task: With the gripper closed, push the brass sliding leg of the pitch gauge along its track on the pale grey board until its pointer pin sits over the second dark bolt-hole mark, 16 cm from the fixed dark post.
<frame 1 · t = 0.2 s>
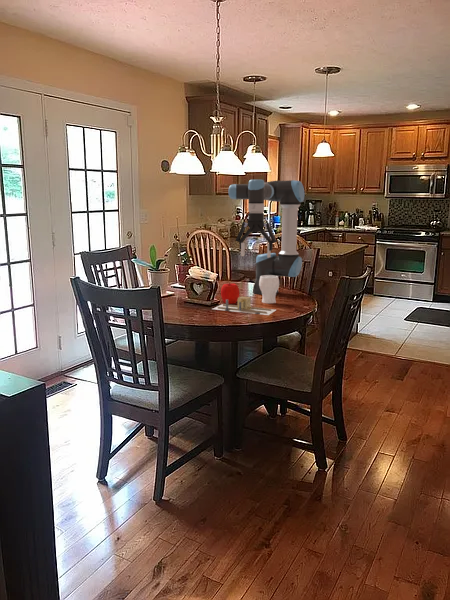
hand: (255, 256, 246), 28 cm above the table, fingers open, 13 cm apart
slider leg: (243, 304, 249), point 4 cm above the table, slide at 0.0 cm, touching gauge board
apple: (230, 305, 267), on the table
cup: (268, 304, 268), on the table
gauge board: (244, 312, 251), on the table
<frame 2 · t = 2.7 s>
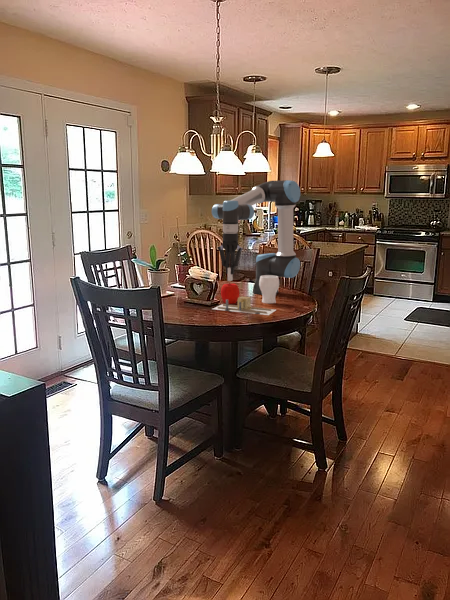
hand: (230, 280, 250), 16 cm above the table, fingers closed
nothing on the table moved.
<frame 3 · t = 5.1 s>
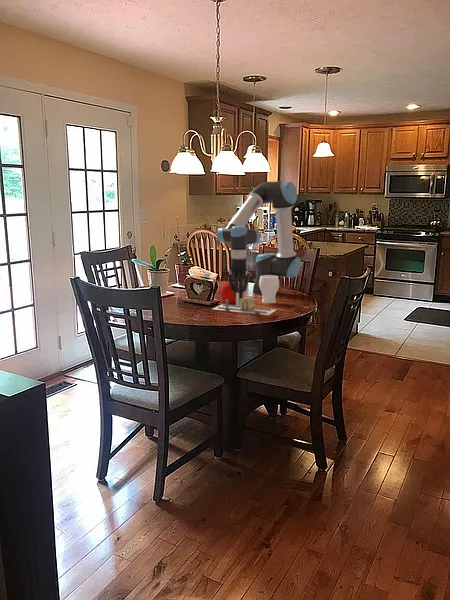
hand: (238, 305, 251), 3 cm above the table, fingers closed
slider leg: (245, 304, 248), point 4 cm above the table, slide at 1.5 cm, touching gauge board, gripper
everything else where it was.
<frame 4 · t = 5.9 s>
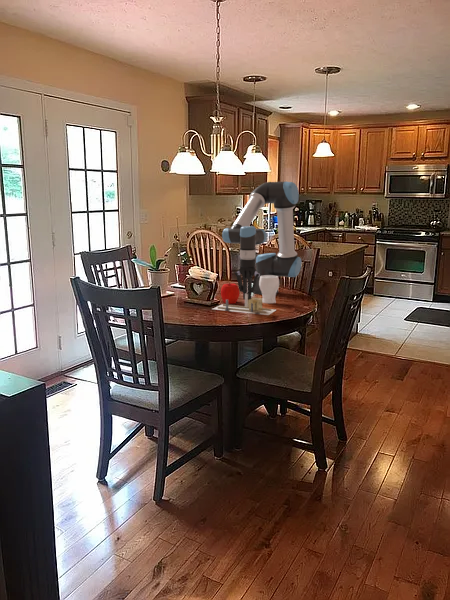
hand: (247, 305, 249), 3 cm above the table, fingers closed
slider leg: (254, 305, 246), point 4 cm above the table, slide at 6.2 cm, touching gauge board, gripper
everything else where it was.
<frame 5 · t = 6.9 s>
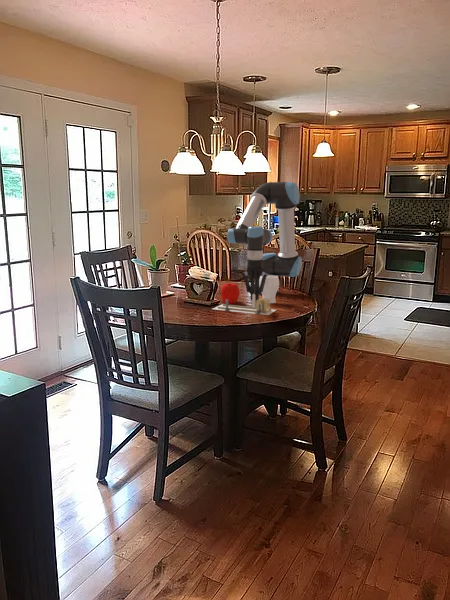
hand: (254, 306, 248), 3 cm above the table, fingers closed
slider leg: (262, 306, 244), point 4 cm above the table, slide at 10.1 cm, touching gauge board, gripper
everything else where it was.
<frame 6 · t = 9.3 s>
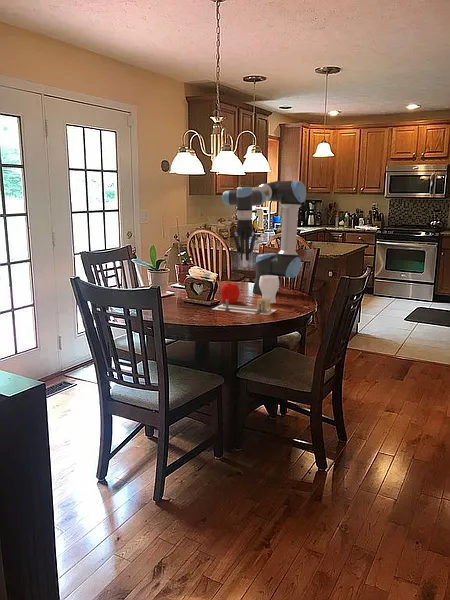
hand: (245, 266, 253), 22 cm above the table, fingers closed
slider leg: (262, 306, 244), point 4 cm above the table, slide at 10.3 cm, touching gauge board
everything else where it was.
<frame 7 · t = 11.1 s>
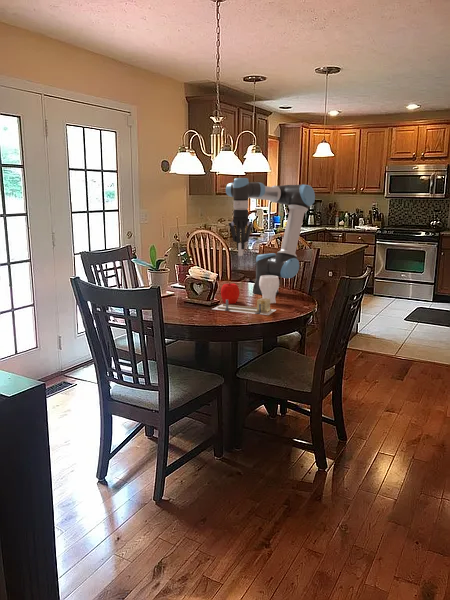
hand: (240, 255, 261), 26 cm above the table, fingers closed
nothing on the table moved.
at the end: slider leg slide at 10.3 cm; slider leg touching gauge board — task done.
